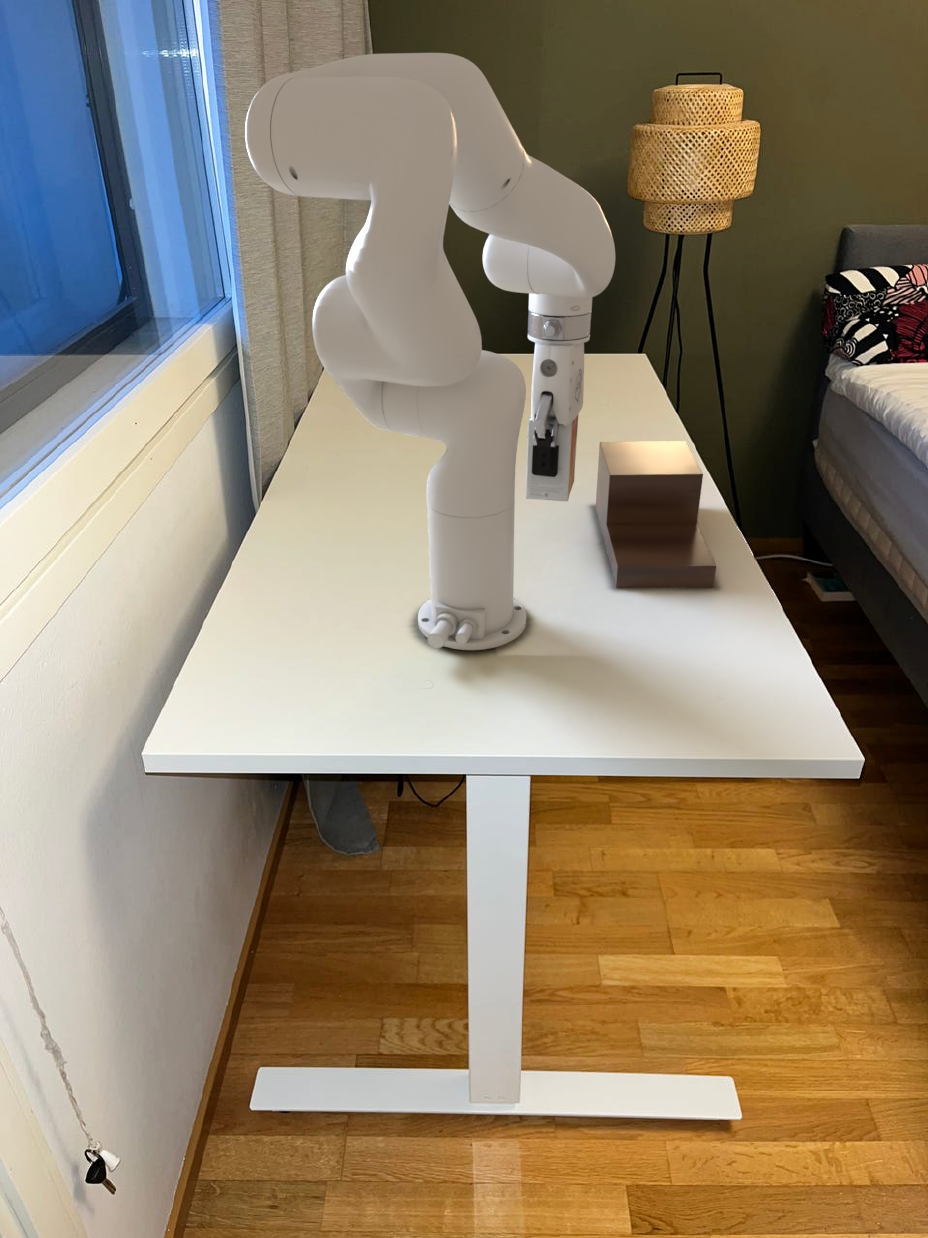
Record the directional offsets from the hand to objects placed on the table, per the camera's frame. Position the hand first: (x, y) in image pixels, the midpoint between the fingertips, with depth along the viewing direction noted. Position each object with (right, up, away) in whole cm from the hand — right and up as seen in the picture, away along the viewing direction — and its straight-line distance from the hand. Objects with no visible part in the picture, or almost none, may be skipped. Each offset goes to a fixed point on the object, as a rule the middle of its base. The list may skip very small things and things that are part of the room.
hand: (552, 462), depth 123 cm
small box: (0, -4, +2) cm, 4 cm away
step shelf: (+13, -10, +4) cm, 17 cm away
